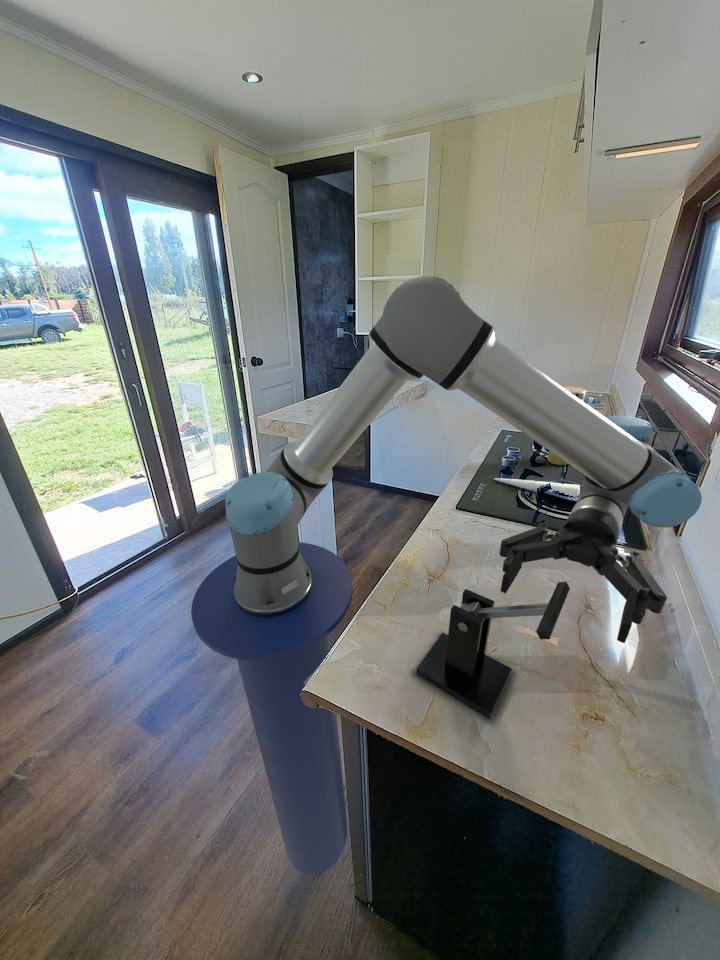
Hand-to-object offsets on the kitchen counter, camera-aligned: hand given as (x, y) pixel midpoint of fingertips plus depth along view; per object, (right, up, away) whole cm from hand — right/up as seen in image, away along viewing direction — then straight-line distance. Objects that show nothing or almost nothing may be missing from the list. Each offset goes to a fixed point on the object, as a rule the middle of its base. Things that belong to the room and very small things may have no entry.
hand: (559, 607), depth 47 cm
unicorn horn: (+27, +12, +66) cm, 72 cm away
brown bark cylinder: (+43, +22, +84) cm, 97 cm away
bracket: (-8, -15, +14) cm, 22 cm away
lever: (-5, -3, +4) cm, 7 cm away
